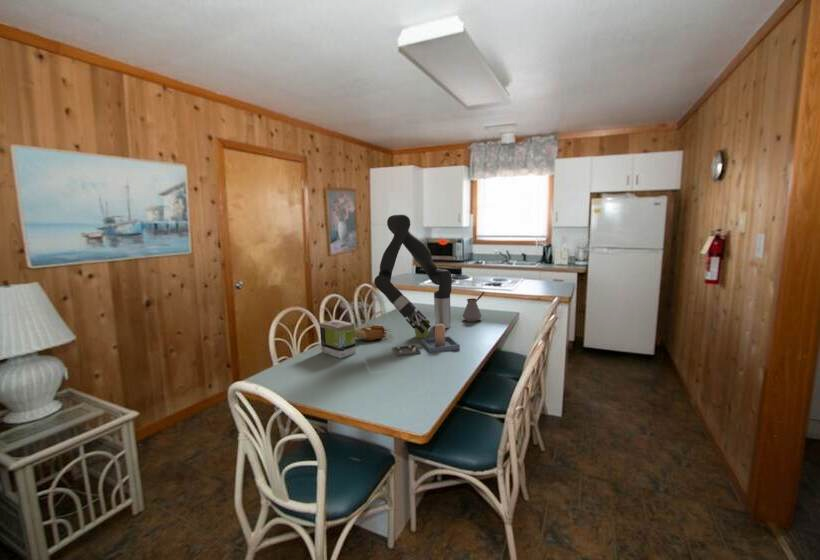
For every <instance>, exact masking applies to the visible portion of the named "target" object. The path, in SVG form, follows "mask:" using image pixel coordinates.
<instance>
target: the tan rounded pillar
mask: <svg viewBox="0 0 820 560" xmlns="http://www.w3.org/2000/svg"><path fill="white" fill-rule="evenodd" d="M445 337H446V328H445V325H443V324H441V323H440V324H437V325H435V324H434V338H435V346H436V347H440V346H445Z"/></svg>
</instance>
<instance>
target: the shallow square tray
mask: <svg viewBox="0 0 820 560" xmlns="http://www.w3.org/2000/svg"><path fill="white" fill-rule="evenodd" d="M421 343H422V345H423V346H424V347H425V349H427V351H428V352H429V353H437V352H445V351H446V352H447V351H450V352H453V351H454V352H455V351H460V350H461V349H460V348H461V347H460V346H461V345H460V344H459V343H458V342H457V341H456V340H455V339H453V338H452V337H451V336H449V335H447V336H446V335H445V346H440V347H436V346H435V337H431V338H430V337H429V338H428V337H427V338H421Z"/></svg>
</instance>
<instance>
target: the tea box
mask: <svg viewBox="0 0 820 560" xmlns="http://www.w3.org/2000/svg"><path fill="white" fill-rule="evenodd" d="M355 330H356V329H355V323H353V322H348V321H345V320H340V319H333V320H328V321H324V322H321V323H319V332H320V344H321V345H320V346H321V353H324V354H326V355H329V356H332V357H334V358H339V359H344V358H346V357H348V356H351V355H354V354H356V353H357V345H356V337H355Z"/></svg>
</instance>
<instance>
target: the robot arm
mask: <svg viewBox="0 0 820 560" xmlns="http://www.w3.org/2000/svg"><path fill="white" fill-rule="evenodd" d="M386 223H387V224H386V226H387V228H388V230H389V231H390V232H391V233H392V234H393V237H392V239H391V241H390V242H389V244H388V246H387V247H386V249H385V250H384V252H383V255H382V256H381V261H380V264H379V271H378V275H377V276H376V277H375V278H374V286H375V287H376V288H377V290H379V291H380V292H381V293H382V294H383V295H384V296H385V297H386V298H387V300H388V301H389V302H390V303H391V304H392V305H393V307H394V308H395V310H397V311H398V312H399V313H400V314H401V316H402V317H404V319H405V321H406V322H407V324H409V326H411V327H412V329H414V328H416V329H418V330H419V331H420V332H421V334H423V333H424V332H425V330H424V329H423V328H422V327H421V326H420V324H419V322H421V323H422V324H423V325H424V326H425V327H426V328H427V329H428V330H429V329H430V328H431V324H430V323H429V324H428V323H427V321H426V320H427V317H426V316H425V315H424V314H423V313H422V312H421V311H420V310H417V311H416V306H415V305H414V304H413V303H412V301H410V300H409V299H408V298H407V297H406V296H405V295H404V294H403V293H402V292H401V291H400V290H399V289H398V288H397V287H395V285H394V284H393V283H392V282H391V281H392V275H393V270H394V268H395V264H396V262H397V261H396V260H397V257H398V254H399V253H400V250H401V247H402V246H404V248H406V250H407V251H408V252H409V253H410V255H411V256H412V257H413V258H414V260H415V261H416V262H417V263H418V264H419V266H420V267H421V268H422V269H423V270H424V271H425V273H426V275H427V277H428V278H429V280H430V281H431V282H432V283H433V285H436V286H438V290H437V291H434V293H433V303H434V306H433V307H434V326H435V325H437V324H440V323H441V324H443V325H445V329H448V328H451V325H452V324H451V321H452V319H451V318H452V317H451V315H452V314H451V293H452V285H453V283H452V282H453V281H452V280H453V278H452V273H451V271H449V270H448V269H443V268H439V267H438V266H437V265H436V264H435V263H434V261H433V257H432V253H431V250H430V249H429V247H428V246H427V245H426V243H425V242H424V241H422V240H421V239H420V238H419V237H417V236H415V235H414V234H413V233H411V232H410V227H411V220H410V218H409V216H408V215H406V214H393V215H391V216H389V217H388V218H387V221H386Z"/></svg>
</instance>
